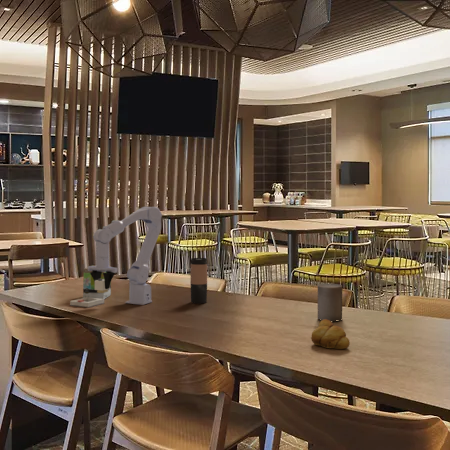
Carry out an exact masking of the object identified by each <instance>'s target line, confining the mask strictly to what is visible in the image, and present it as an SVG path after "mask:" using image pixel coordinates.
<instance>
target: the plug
mask: <svg viewBox="0 0 450 450" xmlns="http://www.w3.org/2000/svg"><path fill="white" fill-rule="evenodd" d="M109 289H110V287H109ZM95 290H97V293H105V292H108V289H105V280H104V279H98V280H95Z"/></svg>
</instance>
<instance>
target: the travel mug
mask: <svg viewBox="0 0 450 450" xmlns="http://www.w3.org/2000/svg"><path fill="white" fill-rule="evenodd" d="M189 280H190V302H192V303H191V304H205V303H207V299H208V258H207V257H191V258H190V279H189Z"/></svg>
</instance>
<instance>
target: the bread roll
mask: <svg viewBox="0 0 450 450" xmlns="http://www.w3.org/2000/svg"><path fill="white" fill-rule="evenodd" d="M310 339H311V342H312V343H313V345H315V346H317V347H318V346H320V347H323V348H325V349H337V350H344V349H347V348H349V347H350V344H351V342H350V339H349V338H348V337H347V333H346V331H345V330H344V328H342V327H341V326H339V325H334V322H331V321H330V320H328V319H324V320H322V321H320V322H319V323H318V327H316V328H315V329H314V330H313V331H312V332H311V337H310Z"/></svg>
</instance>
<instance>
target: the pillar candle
mask: <svg viewBox="0 0 450 450" xmlns="http://www.w3.org/2000/svg"><path fill="white" fill-rule="evenodd" d="M318 319H321V320H324V319H328V320H330V321H336V320H341V319H342V320H343V285H342V284H338V283H331V282H330V283H320V284H317V320H318Z"/></svg>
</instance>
